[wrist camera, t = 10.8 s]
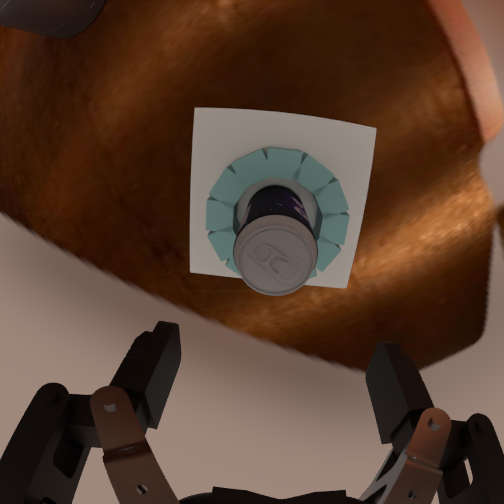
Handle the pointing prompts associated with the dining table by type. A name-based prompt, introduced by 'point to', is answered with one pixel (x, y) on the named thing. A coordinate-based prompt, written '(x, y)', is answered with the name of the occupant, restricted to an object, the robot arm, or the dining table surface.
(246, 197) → the mat
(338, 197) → the ring
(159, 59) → the dining table surface
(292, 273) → the beverage can
